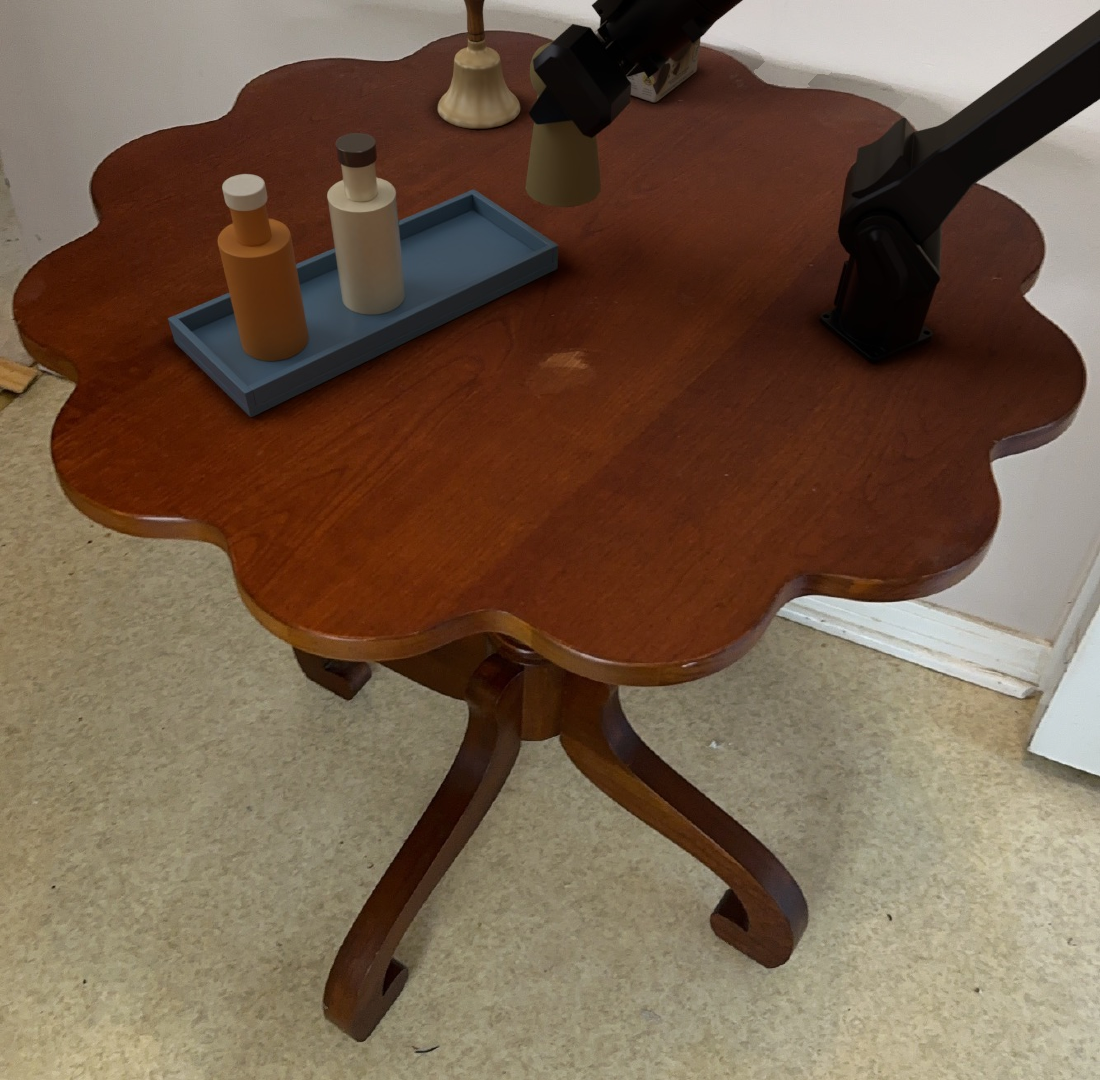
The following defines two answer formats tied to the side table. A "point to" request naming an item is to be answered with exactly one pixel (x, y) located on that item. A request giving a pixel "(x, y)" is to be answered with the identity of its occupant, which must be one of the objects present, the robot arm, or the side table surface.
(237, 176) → the amber bottle
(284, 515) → the side table surface
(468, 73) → the hand bell
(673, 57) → the coffee box
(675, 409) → the side table surface
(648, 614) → the side table surface
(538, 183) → the olive pawn piece
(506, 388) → the side table surface
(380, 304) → the cream bottle
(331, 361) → the tray
